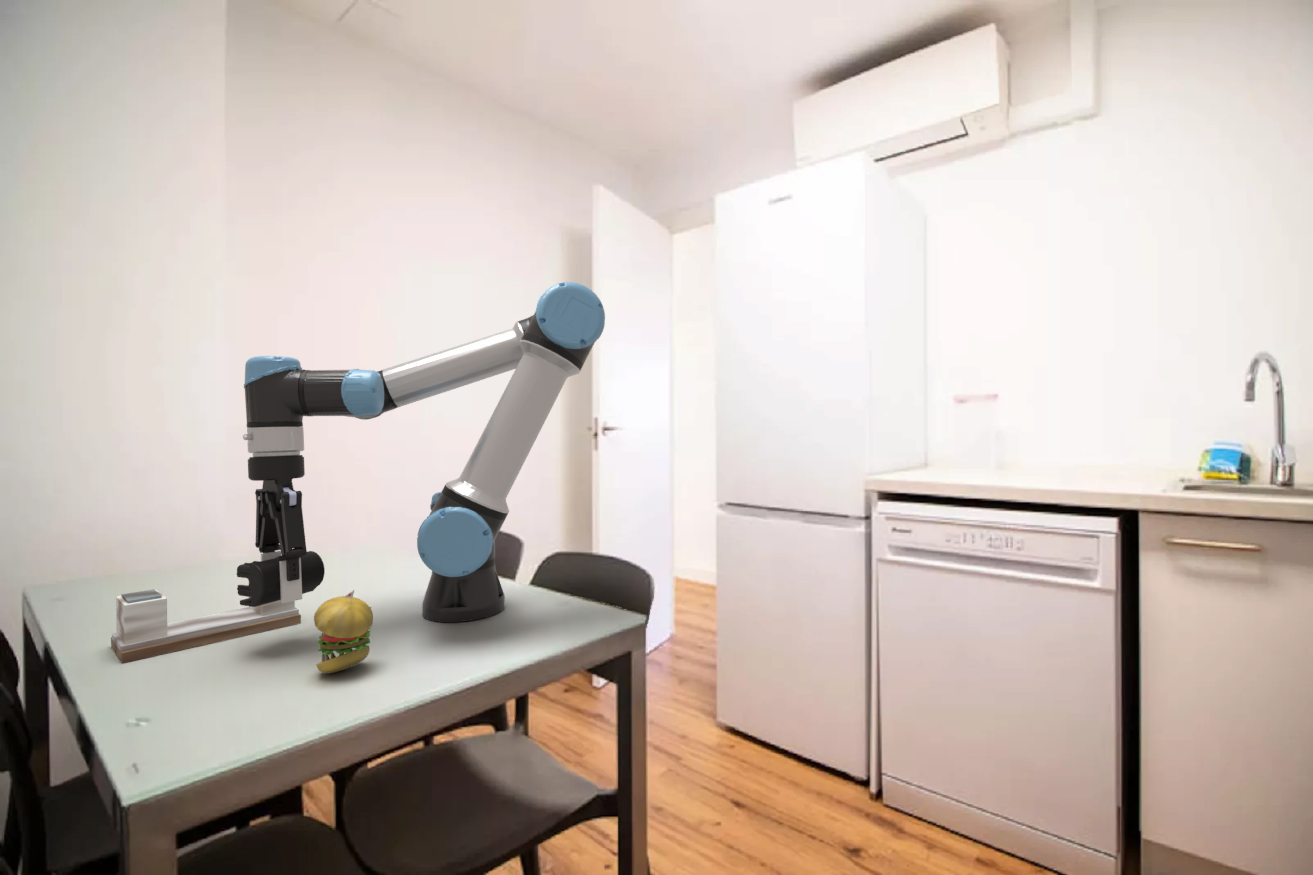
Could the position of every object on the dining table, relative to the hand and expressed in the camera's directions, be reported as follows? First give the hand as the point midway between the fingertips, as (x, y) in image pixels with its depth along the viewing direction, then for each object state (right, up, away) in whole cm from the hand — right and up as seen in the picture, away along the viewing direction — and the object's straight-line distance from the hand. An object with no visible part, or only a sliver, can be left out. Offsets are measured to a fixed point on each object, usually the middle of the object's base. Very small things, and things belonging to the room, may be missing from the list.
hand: (281, 596), depth 92 cm
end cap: (0, -1, 0) cm, 1 cm away
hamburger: (+15, -9, -9) cm, 20 cm away
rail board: (-17, -9, +7) cm, 20 cm away
